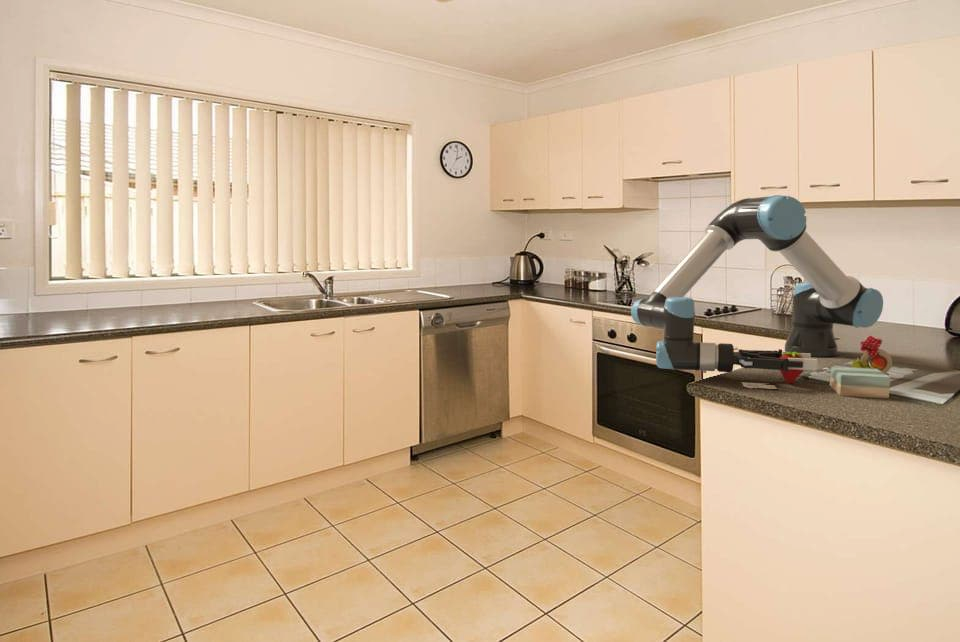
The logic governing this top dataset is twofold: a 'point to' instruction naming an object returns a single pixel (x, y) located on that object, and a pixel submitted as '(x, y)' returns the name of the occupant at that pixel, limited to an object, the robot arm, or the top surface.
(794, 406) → the top surface
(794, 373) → the strawberry
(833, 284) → the robot arm
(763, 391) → the top surface
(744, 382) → the page
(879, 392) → the base brick
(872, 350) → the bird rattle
